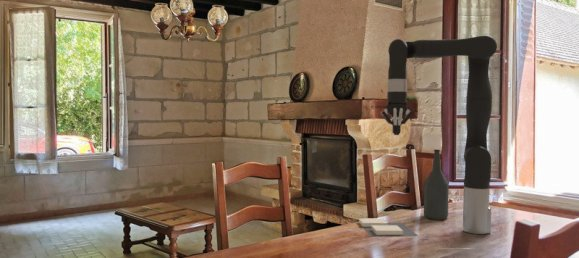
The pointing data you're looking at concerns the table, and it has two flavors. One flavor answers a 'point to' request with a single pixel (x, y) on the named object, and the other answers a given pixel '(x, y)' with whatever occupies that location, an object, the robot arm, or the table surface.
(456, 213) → the table surface
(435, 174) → the bottle
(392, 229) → the tile
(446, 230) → the table surface
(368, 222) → the tile
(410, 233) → the mat
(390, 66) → the robot arm
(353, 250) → the table surface
